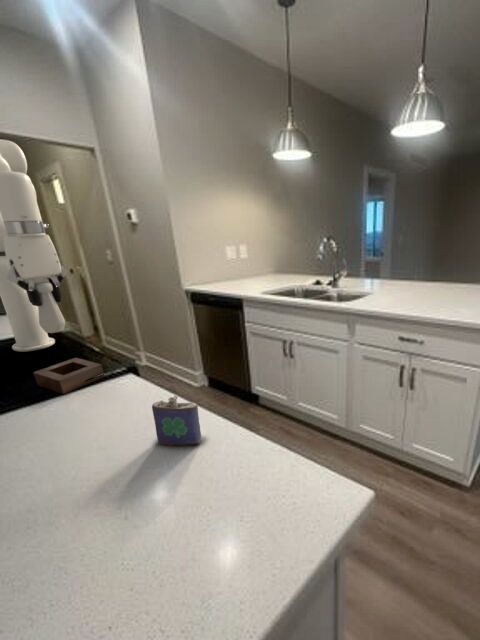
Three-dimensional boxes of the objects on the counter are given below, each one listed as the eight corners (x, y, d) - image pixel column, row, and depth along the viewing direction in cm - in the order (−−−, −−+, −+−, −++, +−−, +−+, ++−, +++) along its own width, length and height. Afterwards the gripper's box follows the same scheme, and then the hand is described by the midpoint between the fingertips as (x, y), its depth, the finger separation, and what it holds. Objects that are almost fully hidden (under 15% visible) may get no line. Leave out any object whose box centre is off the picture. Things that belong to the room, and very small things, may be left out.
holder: (37, 385, 96) (33, 372, 95) (79, 369, 106) (75, 357, 105) (63, 394, 91) (59, 380, 90) (104, 376, 101) (101, 364, 100)
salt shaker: (54, 334, 90) (40, 284, 85) (36, 333, 91) (21, 284, 86) (72, 328, 95) (59, 281, 90) (55, 327, 96) (41, 280, 91)
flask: (203, 438, 73) (197, 394, 69) (199, 447, 70) (192, 401, 66) (161, 437, 73) (152, 393, 69) (155, 445, 71) (145, 400, 67)
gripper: (52, 228, 92) (70, 296, 99) (-25, 230, 78) (2, 309, 85) (69, 228, 89) (86, 298, 96) (-8, 230, 75) (19, 312, 82)
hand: (46, 302), depth 90 cm, fingers closed on salt shaker, 4 cm apart
